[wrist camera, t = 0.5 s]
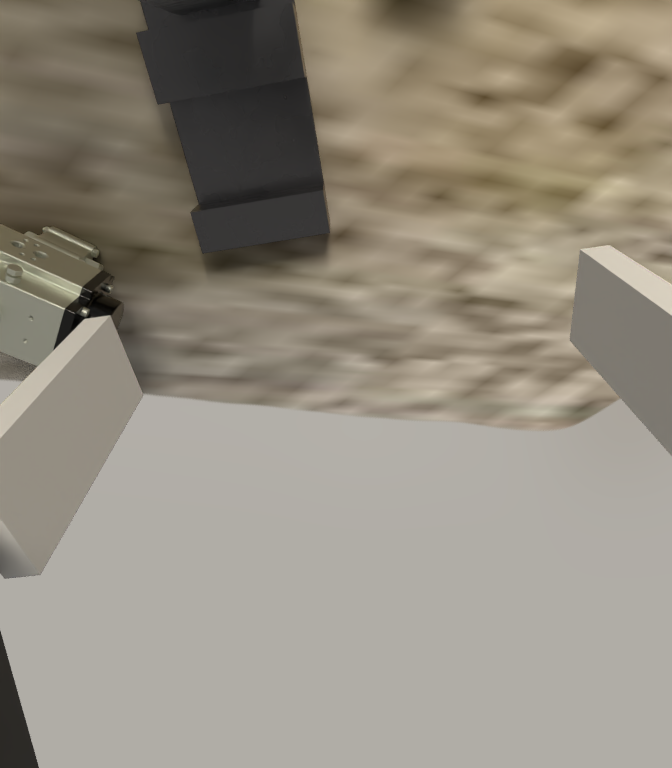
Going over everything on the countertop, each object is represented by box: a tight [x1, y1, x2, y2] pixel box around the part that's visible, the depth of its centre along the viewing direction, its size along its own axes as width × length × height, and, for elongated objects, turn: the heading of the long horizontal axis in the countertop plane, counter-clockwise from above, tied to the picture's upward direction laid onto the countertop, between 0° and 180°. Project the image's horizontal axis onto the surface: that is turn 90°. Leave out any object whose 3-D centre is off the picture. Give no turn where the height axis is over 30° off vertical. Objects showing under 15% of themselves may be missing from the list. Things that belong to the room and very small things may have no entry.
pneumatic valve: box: [0, 224, 124, 366], centre depth 33 cm, size 6×12×12 cm, turn 62°
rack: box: [136, 0, 330, 253], centre depth 30 cm, size 22×9×3 cm, turn 9°
